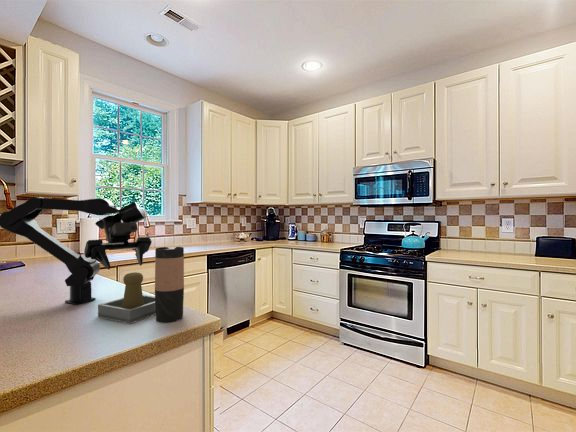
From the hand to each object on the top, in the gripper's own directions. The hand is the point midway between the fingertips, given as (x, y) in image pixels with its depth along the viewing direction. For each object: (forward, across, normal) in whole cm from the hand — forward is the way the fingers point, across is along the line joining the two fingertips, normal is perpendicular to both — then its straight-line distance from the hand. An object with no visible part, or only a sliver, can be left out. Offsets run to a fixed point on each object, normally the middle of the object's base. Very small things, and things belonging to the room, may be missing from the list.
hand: (125, 266), depth 92 cm
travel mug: (+23, +5, -4) cm, 24 cm away
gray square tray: (+14, 0, +4) cm, 15 cm away
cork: (+14, 0, +3) cm, 14 cm away
